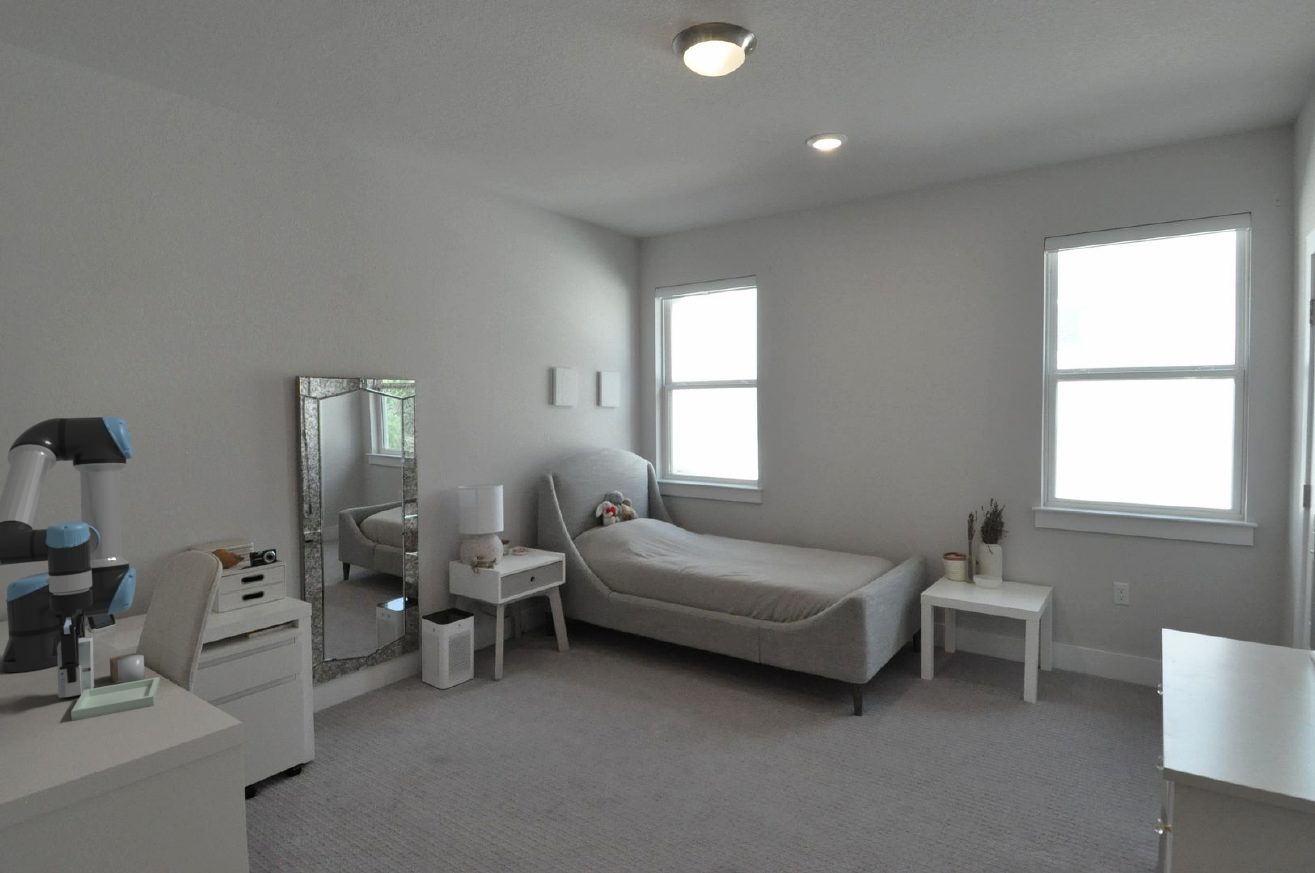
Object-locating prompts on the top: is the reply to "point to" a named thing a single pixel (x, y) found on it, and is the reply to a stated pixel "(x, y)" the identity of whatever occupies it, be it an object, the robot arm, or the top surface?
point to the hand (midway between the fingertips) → (76, 691)
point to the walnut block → (116, 666)
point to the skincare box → (84, 663)
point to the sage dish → (116, 698)
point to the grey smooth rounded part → (131, 669)
